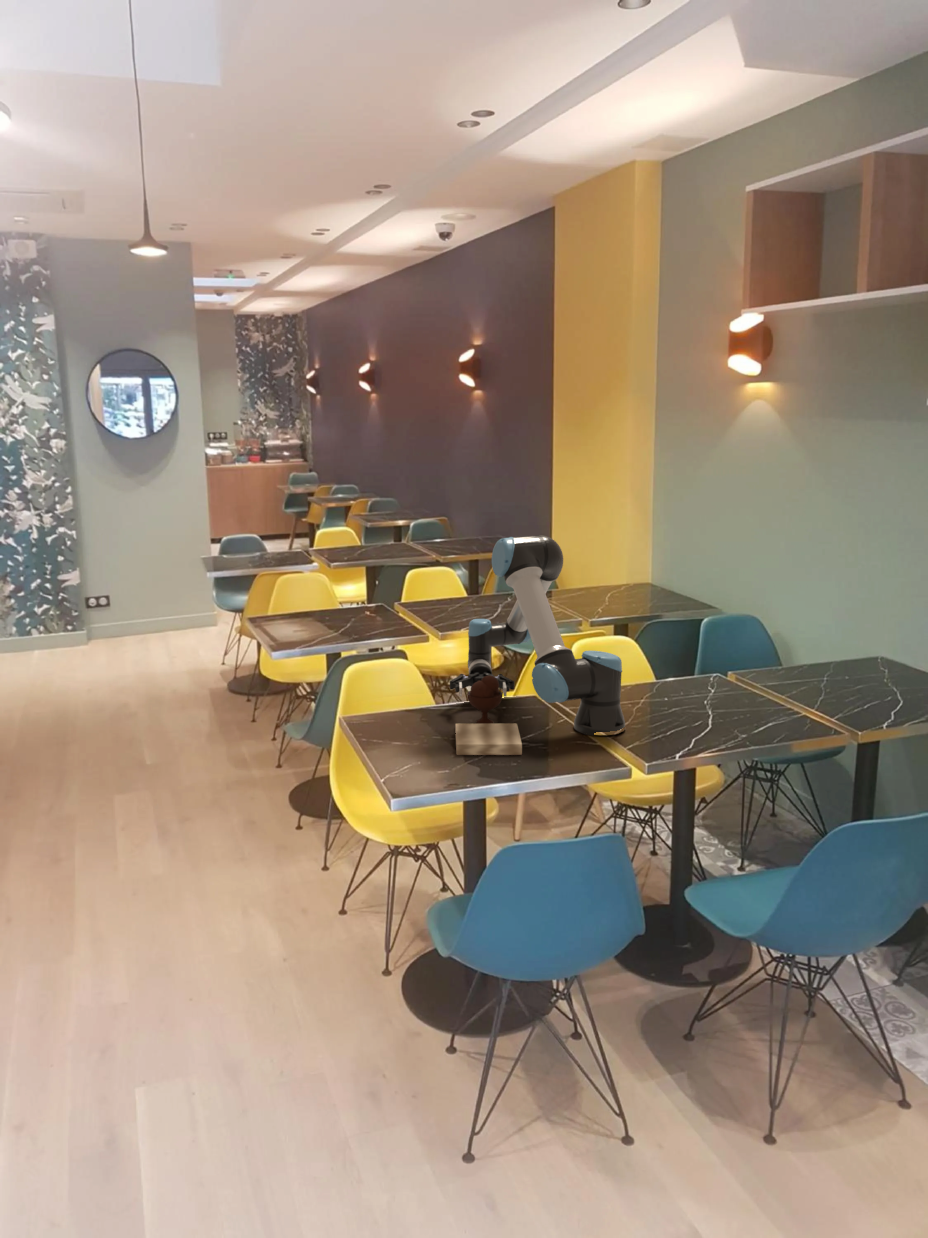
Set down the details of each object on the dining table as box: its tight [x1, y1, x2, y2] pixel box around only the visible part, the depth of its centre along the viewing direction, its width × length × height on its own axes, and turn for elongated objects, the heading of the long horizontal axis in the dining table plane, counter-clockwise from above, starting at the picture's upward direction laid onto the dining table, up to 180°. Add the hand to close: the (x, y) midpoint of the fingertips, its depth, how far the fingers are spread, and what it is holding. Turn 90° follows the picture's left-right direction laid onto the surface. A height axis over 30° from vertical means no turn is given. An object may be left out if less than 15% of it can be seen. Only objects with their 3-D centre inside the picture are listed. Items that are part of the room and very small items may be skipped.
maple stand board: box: [454, 722, 523, 756], centre depth 279 cm, size 18×18×3 cm
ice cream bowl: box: [466, 676, 504, 724], centre depth 295 cm, size 11×11×15 cm
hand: (483, 692), depth 300 cm, fingers open, 13 cm apart
